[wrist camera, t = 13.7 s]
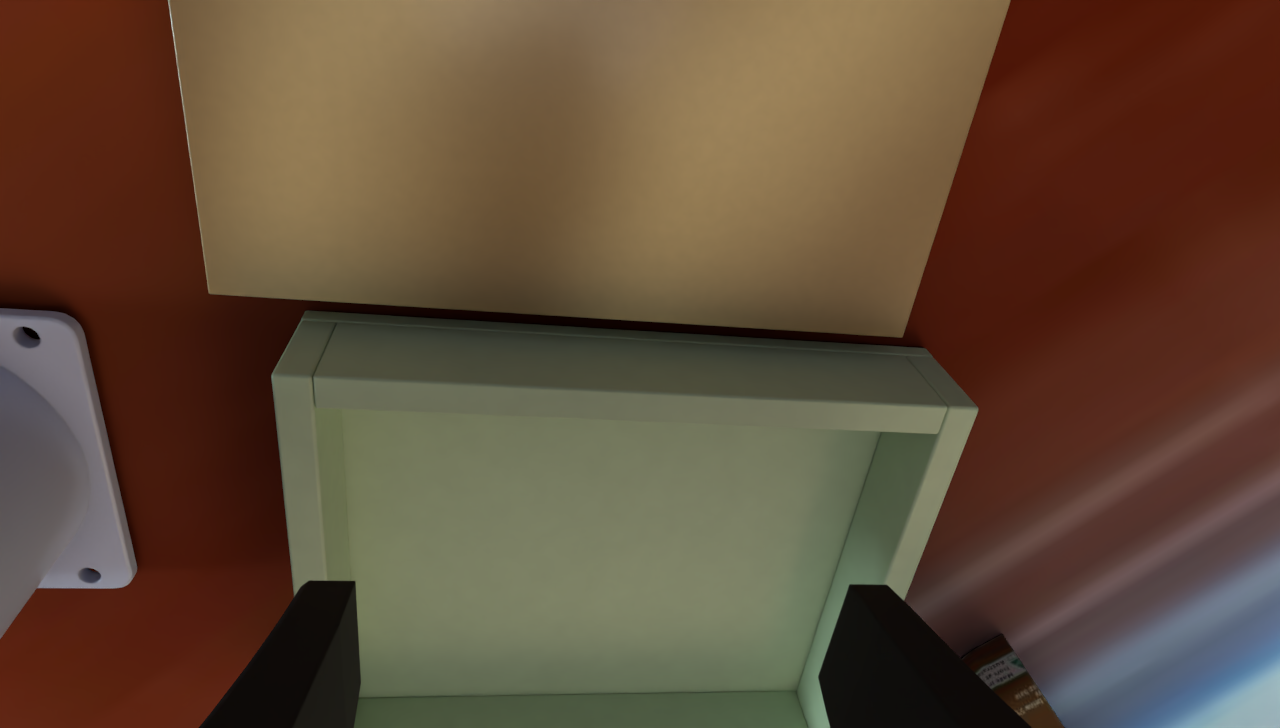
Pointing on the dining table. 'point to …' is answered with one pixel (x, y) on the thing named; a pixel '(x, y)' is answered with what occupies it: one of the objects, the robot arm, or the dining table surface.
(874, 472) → the tray
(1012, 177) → the dining table surface
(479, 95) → the board
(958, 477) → the dining table surface
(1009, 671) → the food container
